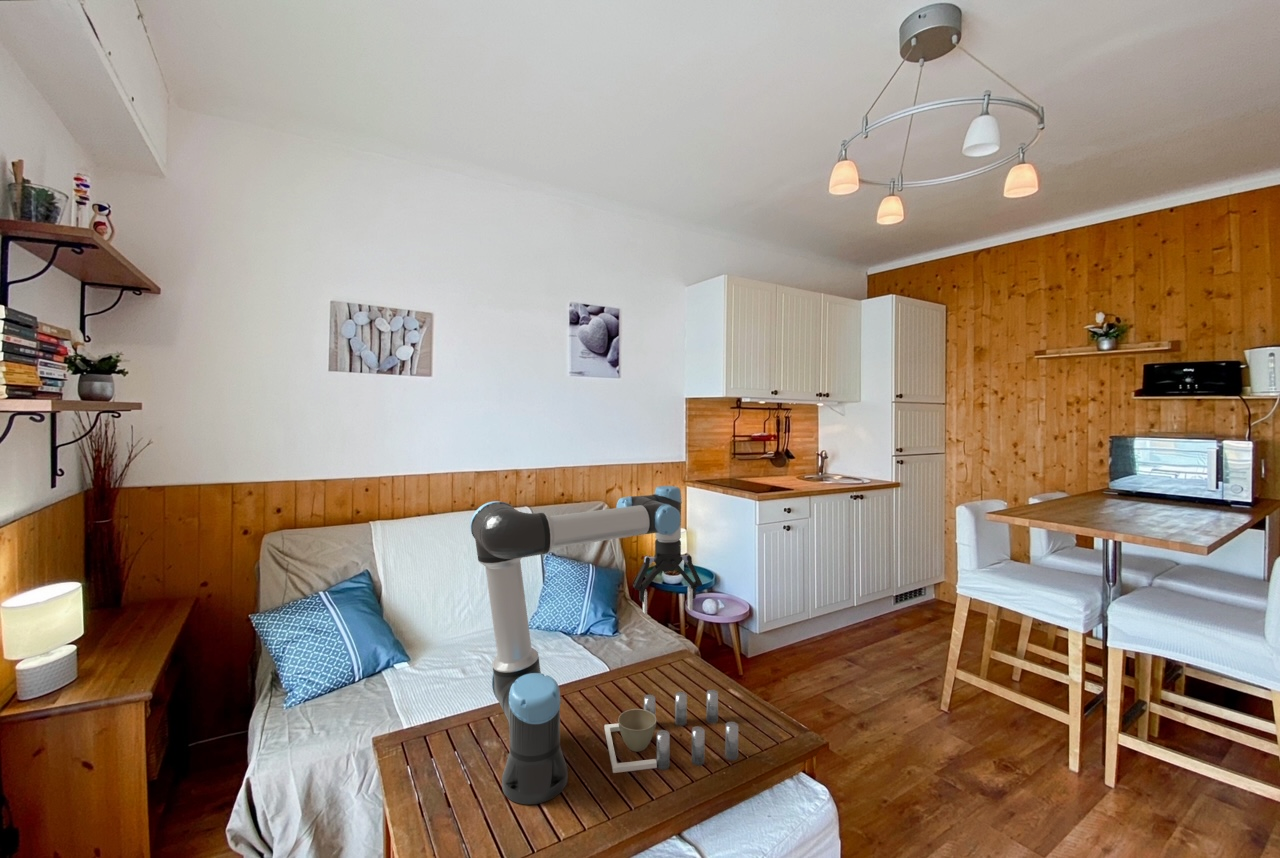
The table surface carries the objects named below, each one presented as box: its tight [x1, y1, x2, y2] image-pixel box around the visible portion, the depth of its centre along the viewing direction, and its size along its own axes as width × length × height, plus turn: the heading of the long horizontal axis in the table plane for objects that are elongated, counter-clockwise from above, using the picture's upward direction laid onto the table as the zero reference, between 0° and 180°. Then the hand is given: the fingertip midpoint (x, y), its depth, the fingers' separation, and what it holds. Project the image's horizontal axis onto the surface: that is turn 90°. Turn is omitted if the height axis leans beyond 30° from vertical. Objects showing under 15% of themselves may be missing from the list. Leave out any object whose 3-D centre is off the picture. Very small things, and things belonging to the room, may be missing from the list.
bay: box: [604, 723, 658, 774], centre depth 141 cm, size 11×18×1 cm, turn 10°
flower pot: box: [617, 708, 657, 753], centre depth 141 cm, size 10×10×7 cm
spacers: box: [643, 689, 739, 771], centre depth 144 cm, size 21×20×8 cm
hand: (667, 611), depth 159 cm, fingers open, 13 cm apart
